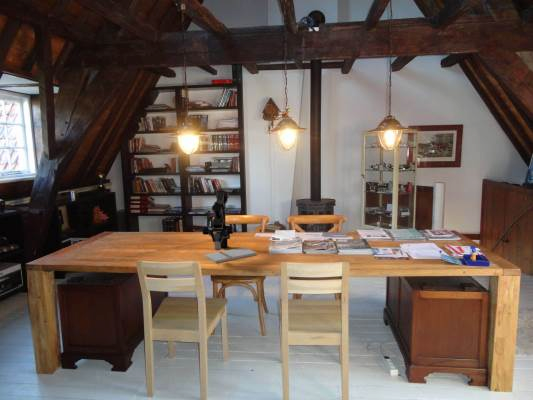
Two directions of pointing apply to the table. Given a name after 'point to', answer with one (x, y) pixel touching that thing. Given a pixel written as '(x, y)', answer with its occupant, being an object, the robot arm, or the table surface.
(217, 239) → the awl peg
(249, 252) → the subfloor panel
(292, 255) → the table surface
